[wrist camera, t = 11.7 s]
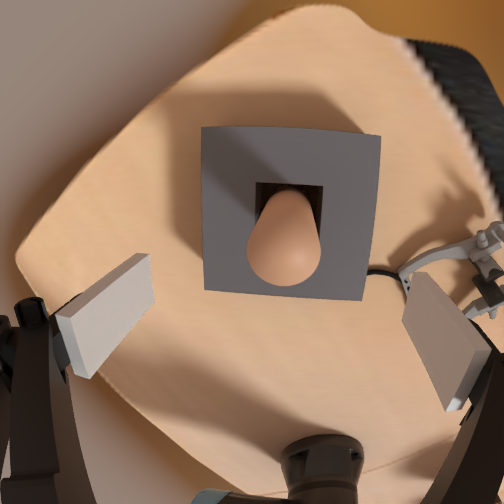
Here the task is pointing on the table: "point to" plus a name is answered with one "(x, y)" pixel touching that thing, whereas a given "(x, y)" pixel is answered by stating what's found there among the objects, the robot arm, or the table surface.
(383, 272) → the bike brake
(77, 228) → the table surface
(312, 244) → the peg
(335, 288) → the socket block
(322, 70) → the table surface
